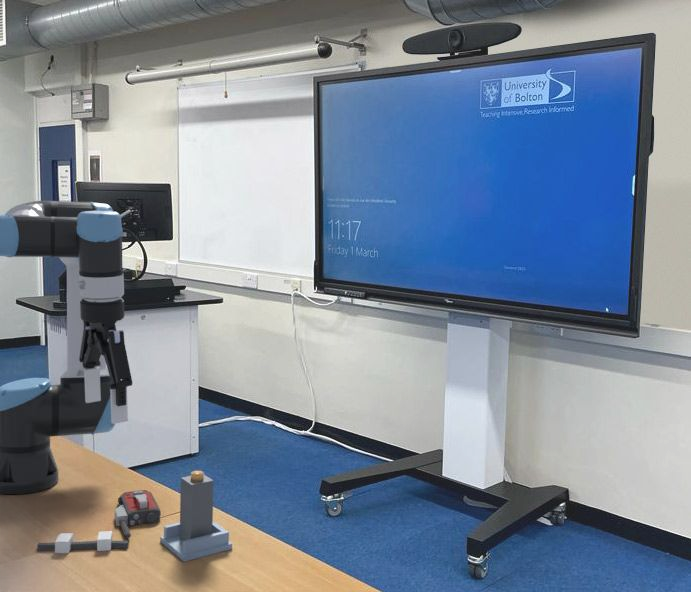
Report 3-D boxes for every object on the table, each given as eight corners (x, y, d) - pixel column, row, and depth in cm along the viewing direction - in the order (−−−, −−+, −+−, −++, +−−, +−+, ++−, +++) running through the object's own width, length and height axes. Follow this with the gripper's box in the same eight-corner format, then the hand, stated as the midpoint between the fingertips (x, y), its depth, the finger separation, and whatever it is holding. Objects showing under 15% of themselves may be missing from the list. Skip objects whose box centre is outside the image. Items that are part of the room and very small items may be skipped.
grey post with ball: (179, 538, 146) (180, 471, 144) (201, 533, 149) (202, 467, 147) (190, 547, 142) (191, 478, 141) (212, 541, 145) (213, 474, 144)
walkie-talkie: (108, 505, 164) (122, 544, 146) (108, 485, 163) (122, 521, 145) (150, 500, 167) (168, 537, 149) (150, 481, 167) (169, 516, 149)
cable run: (39, 545, 143) (38, 534, 142) (129, 541, 146) (129, 530, 146) (35, 554, 139) (35, 543, 139) (128, 550, 142) (128, 538, 142)
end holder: (160, 541, 146) (160, 525, 146) (207, 530, 153) (207, 514, 152) (183, 561, 139) (183, 544, 138) (232, 548, 145) (232, 532, 144)
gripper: (59, 289, 145) (63, 396, 148) (106, 312, 125) (110, 435, 129) (98, 285, 149) (102, 390, 153) (150, 307, 130) (152, 427, 133)
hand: (105, 411), depth 141 cm, fingers open, 13 cm apart
